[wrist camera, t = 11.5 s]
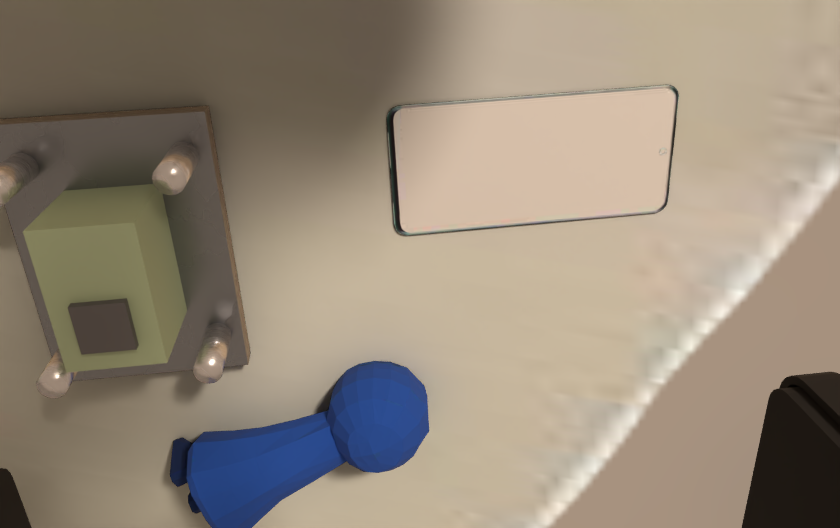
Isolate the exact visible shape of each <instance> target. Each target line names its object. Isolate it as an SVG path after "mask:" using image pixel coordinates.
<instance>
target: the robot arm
mask: <svg viewBox="0 0 840 528" xmlns="http://www.w3.org/2000/svg"><path fill="white" fill-rule="evenodd" d="M0 528H31V525H30V522H29V520H28V517H27V514H26V512H25V509H24V506H23V504H22V501H21V498H20V496H19V493H18V490H17V488H16V485H15V482H14V480H13V477H12V475H11V473H10V472H9V471H8V470H7V469H3V468H1V469H0ZM742 528H840V374H838V373H835V372H824V373H814V374H804V375H795V376H790V377H786V378H785V379H784V380H783V382H782V383H781V385H780V388H779V389H776V390H773V392H772V393H771V394H770V397H769V400H768V405H767V409H766V414H765V419H764V424H763V429H762V433H761V438H760V443H759V448H758V452H757V457H756V462H755V467H754V471H753V476H752V481H751V486H750V491H749V496H748V500H747V505H746V510H745V514H744V519H743V524H742Z"/></svg>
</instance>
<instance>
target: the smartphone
mask: <svg viewBox="0 0 840 528" xmlns="http://www.w3.org/2000/svg"><path fill="white" fill-rule="evenodd" d="M678 99H679V94H678V91H677V89H676V88H675V87H673V86H671V85H657V86H644V87H631V88H618V89H605V90H592V91H579V92H566V93H553V94H540V95H527V96H514V97H501V98H488V99H474V100H461V101H448V102H435V103H422V104H409V105H398V106H395V107H393V108H392V109H391V110H390V111H389V112H388V115H387V132H388V146H389V160H390V174H391V187H392V201H393V215H394V226H395V229H396V230H397V232H398V233H400V234H402V235H418V234H429V233H440V232H451V231H462V230H473V229H484V228H495V227H506V226H517V225H528V224H539V223H550V222H561V221H572V220H583V219H594V218H605V217H616V216H627V215H638V214H649V213H657V212H660V211H661V210H663V209H664V208H665V206H666V205H667V202H668V194H669V185H670V175H671V166H672V156H673V147H674V137H675V127H676V118H677V108H678Z"/></svg>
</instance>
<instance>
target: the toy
mask: <svg viewBox="0 0 840 528" xmlns="http://www.w3.org/2000/svg"><path fill="white" fill-rule="evenodd" d="M428 432H429V421H428V404H427V394H426V390H425V387H424V385H423V384H422V383H421V382H420V381H419V380H418V379H417V378H416V377H415V376H414V375H413V374H412V373H411V372H410V370H409V369H408V368H406V367H403V366H400V365H398V364H395V363H392V362H382V361H372V362H367V363H362V364H358V365H356V366H354V367H352V368H350V369H348V370H347V371H346V372H345V373H344V374H343V375H342V376H341V378H340V379H339V380H338V382H337V383H336V385H335V387H334V389H333V392H332V397H331V401H330V406H329V410H328V411H324V412H321V413H317V414H314V415H311V416H307V417H304V418H300V419H297V420H292V421H288V422H284V423H279V424H275V425H271V426H266V427H261V428H253V429H244V430H235V431H214V432H203V433H202V434H201V435H200V437H199V438H198V439H197V440H196V441H195V442H194V443H193V444H191V443H190V442H189V441H187V440H186V439H184V438H179V439H176V440H174V441H173V449H172V459H171V468H170V477H171V480H172V482H173V483H174V484H175V485H176V486H177V487H179V486H181V485H183V484H185V483H188V485H189V489H190V494H189V495H188V503H189V505H190V507H191V510H192V512H194V513H199V512H202V514H203V516H204V517H205V519H206V521H207V522H208V523H209V525H210V526H211V527H212V528H252V527H253V526H254V525H255V524H256V523H257V522H258V521H259V520H260V519H261V518H262V517H263V516H264V515H266V514H267V513H268V512H269V511H270V510H271V509H272V508H273V507H274V506H275V505H276V504H278V503H279V502H280V501H281V500H282V499H284V498H286V497H288V496H289V495H291V494H293V493H294V492H296V491H298V490H299V489H301V488H303V487H305V486H306V485H308V484H310V483H311V482H313V481H315V480H316V479H318V478H320V477H321V476H323V475H325V474H326V473H328V472H330V471H331V470H333V469H335V468H336V467H338V466H340V465H341V464H343V463H345V462H346V461H347V462H348V463H349V464H350V465H352V466H354V467H356V468H358V469H360V470H362V471H364V472H375V473H379V472H385V471H390V470H393V469H395V468H397V467H399V466H401V465H403V464H405V463H406V462H407V461H408V460H409V459H410V458H412V457H413V456H414V454H415V452H416V451H417V449H418V447H419V446H420V444H421V442H422V441H423V439H424V438H425V436H426V435H427V433H428Z"/></svg>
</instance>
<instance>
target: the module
mask: <svg viewBox="0 0 840 528" xmlns="http://www.w3.org/2000/svg"><path fill="white" fill-rule="evenodd" d="M23 234H24V237H25V241H26V244H27V247H28V250H29V253H30V257H31V260H32V263H33V266H34V270H35V273H36V276H37V279H38V282H39V286H40V289H41V292H42V295H43V299H44V302H45V305H46V308H47V311H48V315H49V318H50V321H51V324H52V328H53V331H54V334H55V337H56V340H57V344H58V347H59V350H60V353H61V357H62V360H63V363H64V366H65V369H66V373H68V372H78V371H88V370H99V369H109V368H120V367H130V366H141V365H151V364H162V363H167V362H168V360H169V357H170V354H171V352H172V349H173V346H174V344H175V341H176V338H177V336H178V333H179V331H180V328H181V325H182V323H183V320H184V317H185V315H186V312H187V307H186V303H185V298H184V293H183V288H182V284H181V279H180V274H179V270H178V265H177V260H176V256H175V251H174V246H173V241H172V237H171V232H170V227H169V223H168V218H167V213H166V209H165V204H164V199H163V194H162V193H161V192H159V191H158V190H157V189H156V188H155V186H154V184H146V185H133V186H120V187H107V188H93V189H80V190H67V191H63V192H62V193H61V194H60V195H59V196H58V197H57V198H56V199H55V200H54V201H53V202H52V203H51V204H50V205H49V206H48V207H47V208H46V209H45V210H44V211H43V212H42V213H41V214H40V215H39V216H38V217H37V218H36V219H35V220H34V221H33V222H32V223H31V224H30V225H29V226H28V227H27V228H26V229H25V230H24V231H23Z"/></svg>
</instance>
